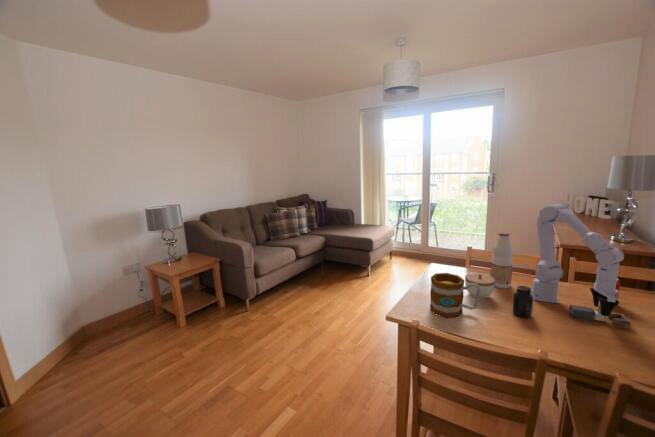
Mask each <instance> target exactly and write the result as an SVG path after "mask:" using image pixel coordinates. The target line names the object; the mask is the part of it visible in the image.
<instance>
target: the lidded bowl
mask: <svg viewBox="0 0 655 437" xmlns="http://www.w3.org/2000/svg"><path fill="white" fill-rule="evenodd" d="M464 280H465V281H464V286H467V285H468V284H470V283H475V284H477V285H479V288H480V294H479V300H486V299H488V298H489V297H490V296H491V295H492V294H493V293H494V289H495V287H494V284H495V279H494V278H493V277H491V276H490V275H489V274H485V273H478V272H477V273H476V272H471V273H467V274H466V275H465V277H464ZM466 291H467V293H468V294H470V296H471V297H472V298H474V299H476V294H477V287H475V286H471V287H470V288H468V289H466Z"/></svg>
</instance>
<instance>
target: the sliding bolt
mask: <svg viewBox="0 0 655 437" xmlns="http://www.w3.org/2000/svg"><path fill="white" fill-rule="evenodd" d="M594 311H595V319H594V321H596V320H597V321H600V322H601V321H602V322H606V319H607V316H602V315H601V306H600V302H599V304H598V307H597V310H594ZM571 314H572V309H571Z"/></svg>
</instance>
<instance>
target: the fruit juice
mask: <svg viewBox="0 0 655 437" xmlns="http://www.w3.org/2000/svg"><path fill="white" fill-rule="evenodd" d="M497 236H498V239H497V241H496V242H495V243H494V245H493V246H492V256H491V262H490V275H489V276H491V277H493V278H494V279H495V284H494V288H497V289H509V288H511V286H512V278H513V277H512V275H513V265H514V260H513V255H514V252H515V250H514V248H513V246H512V242H511V241H510V236H511V233H510V232H507V231H499V232H498V235H497Z"/></svg>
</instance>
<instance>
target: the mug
mask: <svg viewBox="0 0 655 437" xmlns="http://www.w3.org/2000/svg"><path fill="white" fill-rule="evenodd" d="M430 286H431V287H430V305H429V309H430V308H431V309H430V311H431V310H432V311H433V312H434V313H433V312H432V311H431V312H432V313H433V315H435V314H437V315H436V316H438V315H440V316H439V317H441V316H442V317H441V318H444V319H457V318H460V316H462V314H463V312H464V311H463V308H464V309H469V310H476V308H477V307H478V306H479V300H480V299H479V294H480V288H479V285H477V284H475V283H470V284H468V285H467V286H466V285H465V278H464V279H463V278H462V277H461V276H460V275H458V274H453V273H450V272H442V273H441V272H440V273H439V272H438V273H437V272H436V273H434V274H433V275H431V276H430ZM471 286H475V287H477V294H476V298H475V302H474V305H469V304H465V303H464V302H463V301H464V290H466V291H467V289H468V288H470V287H471Z"/></svg>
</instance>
